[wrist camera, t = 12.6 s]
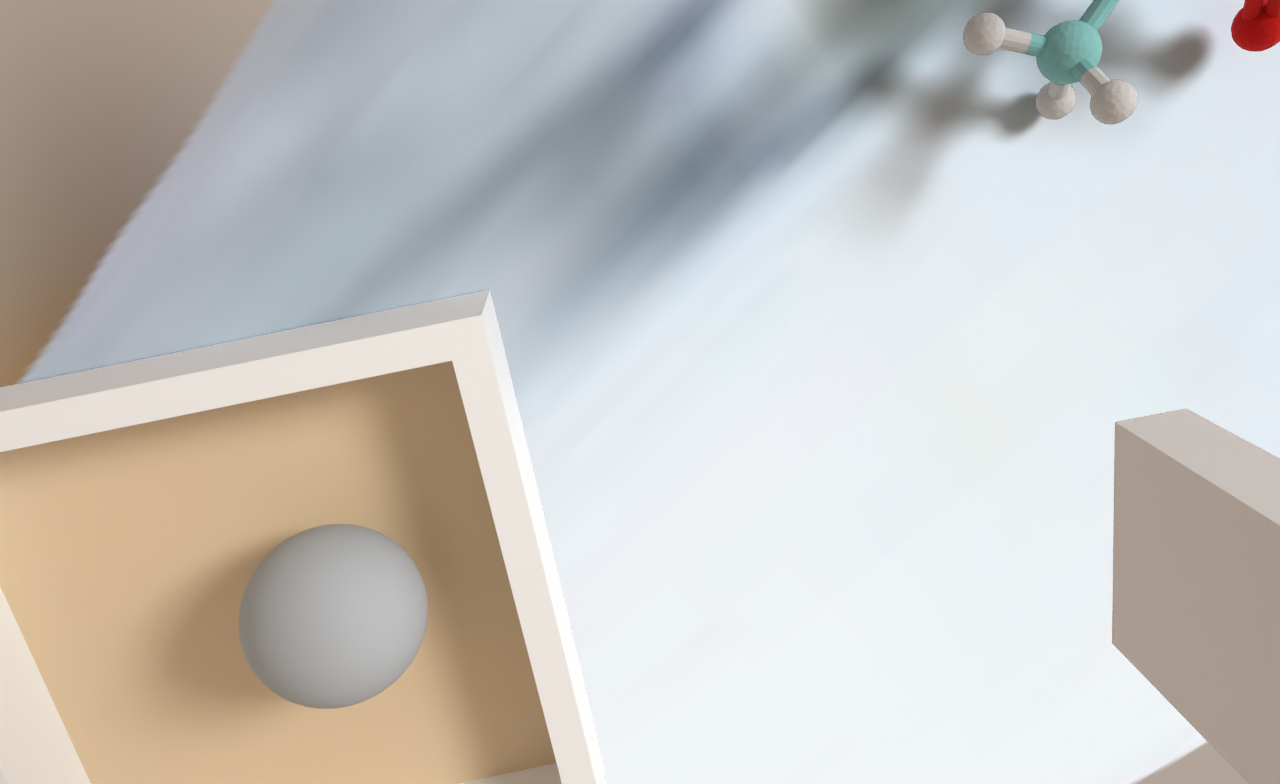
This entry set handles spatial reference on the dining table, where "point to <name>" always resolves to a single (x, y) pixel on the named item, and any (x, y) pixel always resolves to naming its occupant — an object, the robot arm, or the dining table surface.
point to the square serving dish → (249, 530)
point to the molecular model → (1098, 55)
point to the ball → (333, 616)
